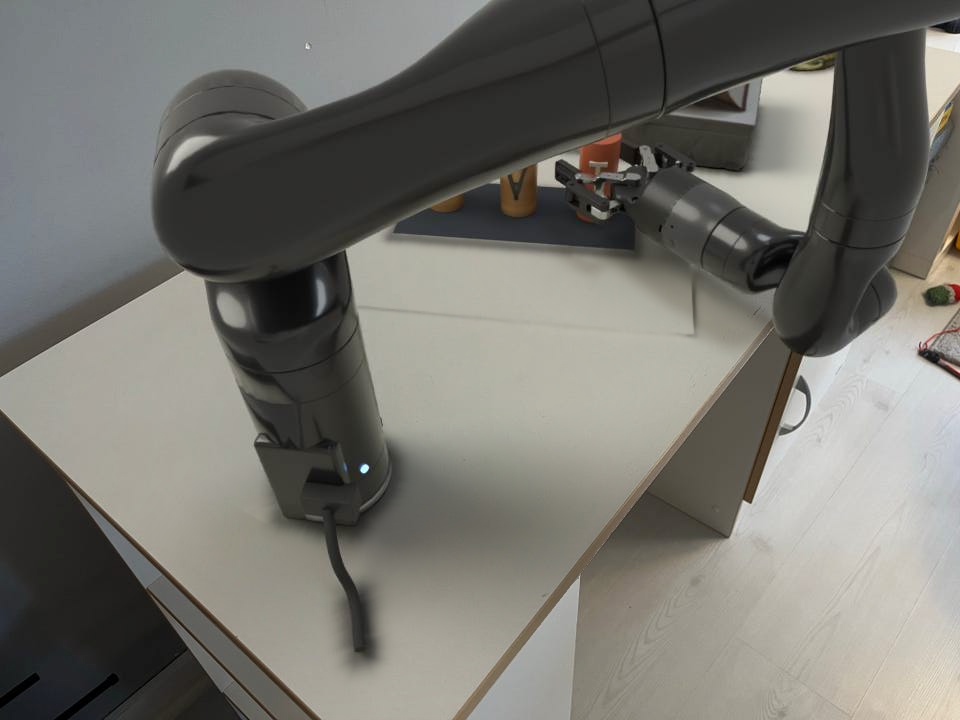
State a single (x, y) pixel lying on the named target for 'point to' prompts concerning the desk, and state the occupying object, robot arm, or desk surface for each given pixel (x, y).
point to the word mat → (521, 222)
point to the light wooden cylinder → (519, 192)
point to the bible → (707, 128)
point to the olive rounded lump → (817, 63)
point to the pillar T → (600, 161)
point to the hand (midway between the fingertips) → (586, 155)
